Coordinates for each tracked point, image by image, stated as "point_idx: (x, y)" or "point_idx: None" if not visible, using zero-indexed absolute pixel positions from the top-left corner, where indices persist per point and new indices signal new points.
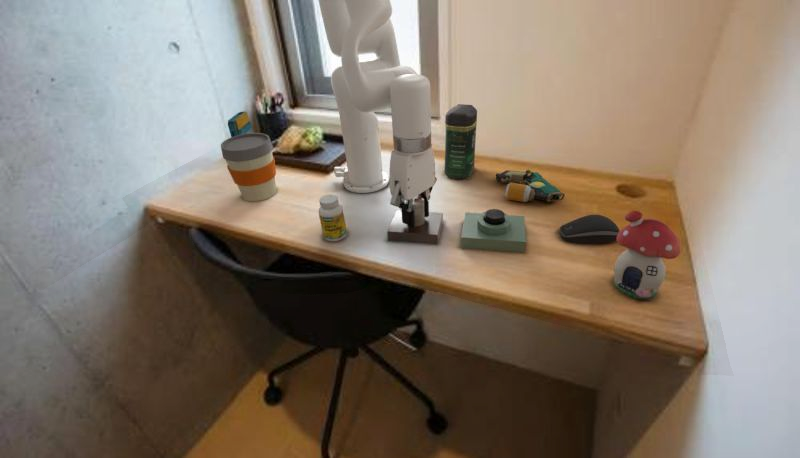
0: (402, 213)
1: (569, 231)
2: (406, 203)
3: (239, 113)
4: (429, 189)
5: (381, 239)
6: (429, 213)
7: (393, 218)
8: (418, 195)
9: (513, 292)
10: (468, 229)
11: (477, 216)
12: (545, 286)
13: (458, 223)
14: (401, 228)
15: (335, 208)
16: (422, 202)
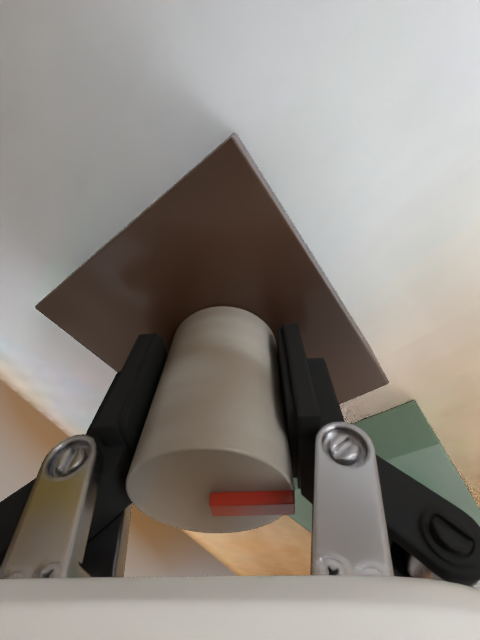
0: (96, 418)
1: None
2: (129, 470)
3: None
4: (401, 565)
5: (40, 242)
6: (346, 343)
7: (138, 226)
8: (314, 456)
9: (218, 549)
10: None
11: (427, 478)
12: (272, 563)
13: (394, 388)
14: (121, 340)
15: None
16: (230, 531)
